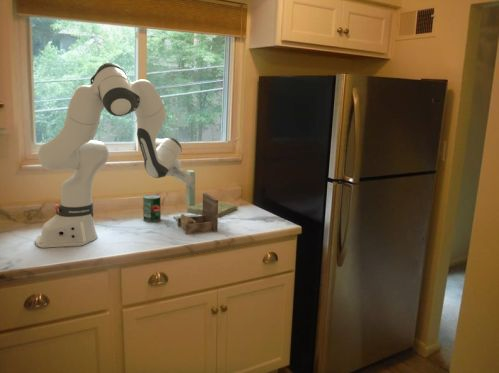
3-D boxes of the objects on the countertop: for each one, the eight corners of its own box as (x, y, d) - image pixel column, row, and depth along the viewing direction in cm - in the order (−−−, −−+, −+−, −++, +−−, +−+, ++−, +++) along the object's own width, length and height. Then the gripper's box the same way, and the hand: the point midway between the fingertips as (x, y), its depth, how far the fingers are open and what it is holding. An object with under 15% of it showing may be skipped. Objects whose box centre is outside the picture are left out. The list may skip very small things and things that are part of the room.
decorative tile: (237, 210, 226) (237, 203, 226) (216, 219, 209) (216, 212, 208) (207, 205, 235) (207, 198, 234) (185, 213, 218) (185, 206, 217)
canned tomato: (145, 216, 207) (145, 194, 205) (161, 217, 207) (161, 194, 205) (141, 221, 199) (141, 198, 197) (159, 221, 199) (159, 198, 197)
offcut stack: (186, 233, 185) (187, 219, 184) (180, 227, 192) (180, 214, 191) (196, 231, 187) (196, 218, 186) (189, 226, 194) (190, 213, 193)
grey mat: (181, 224, 196) (181, 223, 196) (173, 217, 207) (173, 216, 207) (206, 222, 202) (206, 220, 202) (197, 215, 212) (197, 214, 212)
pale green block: (189, 206, 200) (189, 172, 196) (186, 203, 204) (186, 170, 201) (194, 205, 201) (195, 171, 197) (191, 203, 205) (191, 170, 202)
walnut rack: (187, 235, 182) (187, 202, 179) (176, 225, 194) (176, 195, 191) (217, 231, 188) (218, 200, 185) (205, 222, 200) (206, 193, 198)
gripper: (183, 164, 186) (204, 185, 192) (169, 157, 204) (189, 177, 210) (173, 175, 185) (194, 196, 191) (160, 167, 203) (180, 186, 209)
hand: (191, 186), depth 201 cm, fingers closed on pale green block, 5 cm apart
